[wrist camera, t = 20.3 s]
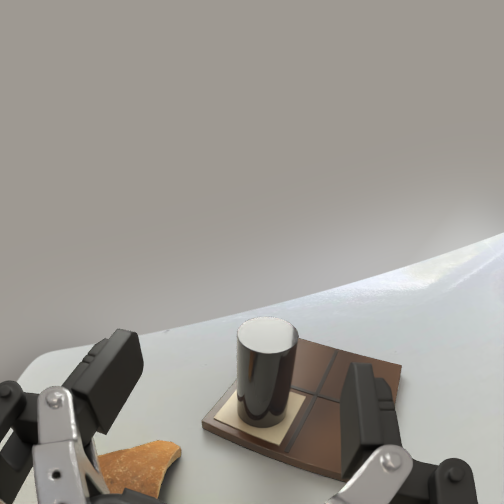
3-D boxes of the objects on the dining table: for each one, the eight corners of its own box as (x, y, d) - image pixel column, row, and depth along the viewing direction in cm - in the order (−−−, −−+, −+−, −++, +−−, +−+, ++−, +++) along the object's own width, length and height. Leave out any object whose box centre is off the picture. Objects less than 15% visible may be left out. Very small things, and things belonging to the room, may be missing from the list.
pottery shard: (179, 443, 24) (175, 428, 24) (202, 533, 16) (199, 524, 15) (69, 451, 21) (59, 435, 20) (70, 539, 13) (56, 528, 12)
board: (202, 428, 26) (200, 419, 26) (274, 338, 40) (274, 329, 39) (370, 488, 20) (375, 481, 19) (399, 372, 33) (402, 364, 32)
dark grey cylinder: (227, 416, 26) (225, 340, 23) (251, 385, 30) (254, 310, 27) (274, 435, 25) (284, 361, 21) (294, 401, 28) (307, 326, 25)
